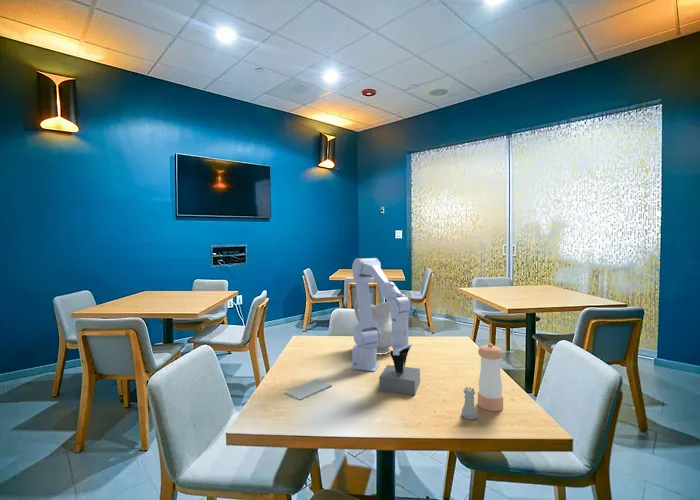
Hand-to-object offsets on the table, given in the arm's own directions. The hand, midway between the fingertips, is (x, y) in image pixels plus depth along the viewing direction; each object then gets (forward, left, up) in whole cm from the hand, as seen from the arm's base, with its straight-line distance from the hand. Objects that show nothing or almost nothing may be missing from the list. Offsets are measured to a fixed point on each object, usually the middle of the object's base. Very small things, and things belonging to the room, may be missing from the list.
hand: (400, 369), depth 123 cm
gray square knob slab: (0, 0, -6) cm, 6 cm away
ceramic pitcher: (-19, +37, -6) cm, 42 cm away
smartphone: (-29, -13, -6) cm, 32 cm away
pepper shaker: (+29, -6, -6) cm, 30 cm away
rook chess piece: (+23, -15, -6) cm, 28 cm away
